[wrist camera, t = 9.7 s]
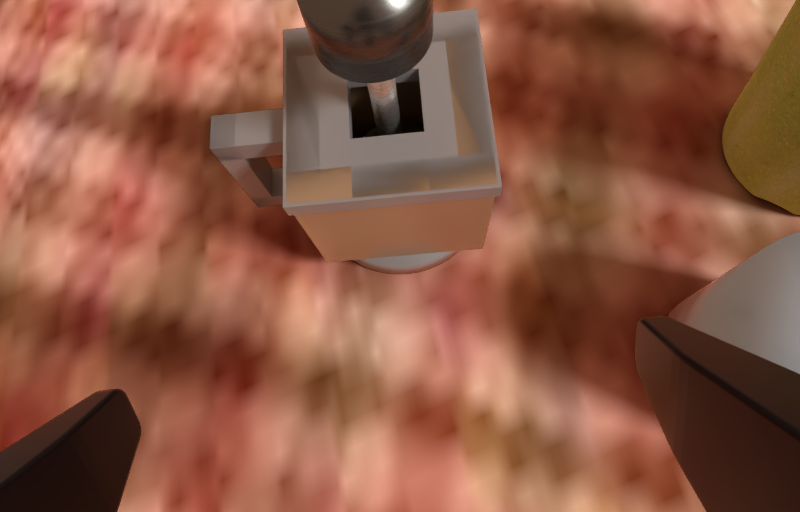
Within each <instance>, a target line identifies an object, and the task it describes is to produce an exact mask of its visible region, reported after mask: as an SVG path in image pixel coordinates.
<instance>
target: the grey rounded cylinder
mask: <svg viewBox="0 0 800 512" xmlns="http://www.w3.org/2000/svg"><path fill="white" fill-rule="evenodd" d="M667 317H669V318H672V319H674V320H676V321H679V322H681V323H683V324H686V325H688V326H690V327H693V328H695V329H697V330H699V331H702V332H704V333H706V334H709V335H711V336H713V337H716V338H718V339H720V340H723V341H725V342H727V343H730V344H732V345H734V346H736V347H739V348H741V349H743V350H746V351H748V352H750V353H753V354H755V355H757V356H760V357H762V358H764V359H767V360H769V361H771V362H773V363H776V364H778V365H780V366H783V367H785V368H787V369H790V370H792V371H794V372H797V373H799V374H800V232H796V233H793V234H790V235H788V236H785V237H783V238H781V239H779V240H777V241H775V242H773V243H772V244H770V245H768V246H767V247H765V248H764V249H762V250H761V251H759V252H758V253H756V254H754V255H753V256H751V257H750V258H748V259H747V260H745V261H743V262H742V263H740V264H739V265H737V266H736V267H734V268H733V269H731V270H729V271H728V272H726V273H725V274H723V275H722V276H720V277H719V278H717V279H715V280H714V281H712V282H711V283H709V284H708V285H706V286H705V287H703V288H701V289H700V290H698V291H697V292H695V293H694V294H692V295H691V296H689V297H687V298H686V299H684V300H683V301H682V302H680V303H679V304H678V305H677V306H676V307H675V308H674V309H673V310H672V311H671V312H670V313H669V315H668V316H667Z"/></svg>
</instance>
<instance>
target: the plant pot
mask: <svg viewBox="0 0 800 512" xmlns="http://www.w3.org/2000/svg"><path fill="white" fill-rule="evenodd" d="M722 144H723V151H724V155H725V159H726V161H727V163H728V165H729V167H730V169H731V171H732V173H733V174H734V176H735V177H736V178H737V180H738V181H739V182H740V183H741V184H742V185H743V186H744V187H745V188H746V189H747V190H748V191H749V192H750V193H751V194H753V195H754V196H756V197H759V198H762V199H764V200H767V201H770V202H772V203H774V204H776V205H778V206H780V207H782V208H784V209H786V210H788V211H789V212H791V213H793V214H795V215H800V0H796V1H795V3H794V5H793V6H792V8H791V10H790V12H789V13H788V15H787V17H786V18H785V20H784V22H783V24H782V25H781V27H780V29H779V30H778V32H777V34H776V36H775V37H774V39H773V41H772V42H771V44H770V46H769V47H768V49H767V51H766V53H765V54H764V56H763V58H762V59H761V61H760V63H759V64H758V66H757V68H756V69H755V71H754V73H753V74H752V76H751V78H750V79H749V81H748V82H747V84H746V86H745V87H744V89H743V90H742V92H741V93H740V95H739V97H738V98H737V100H736V102H735V103H734V105H733V107H732V108H731V110H730V112H729V114H728V117H727V119H726V122H725V125H724V128H723V135H722Z"/></svg>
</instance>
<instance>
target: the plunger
mask: <svg viewBox="0 0 800 512" xmlns="http://www.w3.org/2000/svg"><path fill="white" fill-rule="evenodd" d="M297 2H298V5H299V8H300V11H301V14H302V17H303V20H304V22H305V25H306V28H307V31H308V34H309V37H310V40H311V43H312V46H313V49H314V52H315V54H316V56H317V58H318V59H319V61H320V62H321V63H322V65H323V66H324V67H325V68H326V69H327V70H329V71H330V72H331V73H333V74H334V75H336V76H338V77H340V78H342V79H345V80H348V81H352V82H357V83H367V86H368V91H369V96H370V100H371V105H372V109H373V114H374V119H375V123H376V127H375V128H373V129H371V130H370V131H368V132H367V133H366V134H364V135H363V136H362V137H361V138H364V137H374V136H384V135H394V134H404V133H414V132H424V130H423V129H421V128H419V127H417V126H415V125H412V124H408V123H401V120H400V112H399V105H398V97H397V90H396V82H395V78H396V77H399V76H401V75H403V74H405V73H406V72H408V71H409V70H411V69H412V68H413V67H414V66H416V65H417V64H418V63H419V62H420V61H421V59H422V58H423V57H424V56H425V54H426V53H427V51H428V49H429V47H430V45H431V41H432V38H433V0H297Z"/></svg>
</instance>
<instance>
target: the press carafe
mask: <svg viewBox="0 0 800 512" xmlns="http://www.w3.org/2000/svg"><path fill="white" fill-rule="evenodd" d="M395 82H396V90H397V97H398V105H399V112H400V120H401V123H408V124H412V125H415V126H417V127H419V128H421V129H423V130H424V132H414V133H404V134H394V135H384V136H374V137H364V138H361V137H362V136H363V135H364V134H366V133H367V132H368V131H370V130H371V129H373V128H375V127H376V123H375V119H374V114H373V109H372V105H371V100H370V96H369V91H368V86H367V83H357V82H352V81H348V80H345V79H342V78H340V77H338V76H336V75H334V74H333V73H331V72H330V71H329V70H327V69H326V68H325V67H324V66H323V65H322V63H321V62H320V61H319V59H318V58H317V56H316V54H315V52H314V49H313V46H312V43H311V40H310V37H309V34H308V31H307V28H306V27H305V28H296V29H287V30H283V108H281V109H272V110H262V111H252V112H243V113H233V114H223V115H213V116H211V130H210V150H211V151H212V153H213V154H214V155H215V156H216V157H217V159H218V160H219V161H220V162H221V163H222V164H223V166H224V167H225V168H226V169H227V170H228V172H229V173H230V174H231V175H232V176H233V178H234V179H235V180H236V181H237V182H238V184H239V185H240V186H241V187H242V188H243V190H244V191H245V192H246V193H247V194H248V196H249V197H250V198H251V199H252V200H253V201H254V203H255V204H256V205H257V206H258V207H265V206H276V205H283V209H284V210H285V212H286V213H287V214H288V216H291V215H294V216H295V217H296V219H297V220H298V222H299V223H300V225H301V226H302V227H303V229H304V230H305V232H306V233H307V235H308V236H309V237H310V239H311V240H312V242H313V243H314V245H315V246H316V247H317V249H318V250H319V252H320V253H321V255H322V256H323V257H324V259H325V260H326V262H336V261H347V260H353V261H355V262H356V263H358V264H360V265H362V266H364V267H366V268H369V269H371V270H374V271H378V272H382V273H388V274H411V273H417V272H421V271H425V270H428V269H431V268H433V267H436V266H438V265H440V264H442V263H443V262H445V261H447V260H448V259H450V258H451V257H452V256H454V255H455V254H456V253H457V252H458V251H461V250H472V249H483V246H484V242H485V238H486V234H487V229H488V225H489V221H490V216H491V212H492V208H493V204H494V199H495V197H496V196H500V193H501V189H502V183H501V176H500V169H499V162H498V155H497V148H496V141H495V133H494V126H493V119H492V112H491V105H490V98H489V91H488V84H487V77H486V70H485V63H484V55H483V48H482V41H481V34H480V27H479V20H478V13H477V9H468V10H459V11H450V12H441V13H433V38H432V41H431V45H430V47H429V49H428V51H427V53H426V54H425V56H424V57H423V58H422V59H421V61H420V62H419V63H418V64H417V65H416V66H414V67H413V68H412V69H411V70H409V71H408V72H406V73H405V74H403V75H401V76H399V77H396V78H395ZM278 155H283V168H273V169H272V167H271V166H270V164H269V163H268V161H267V160H266V158H265V157H268V156H278Z"/></svg>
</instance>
